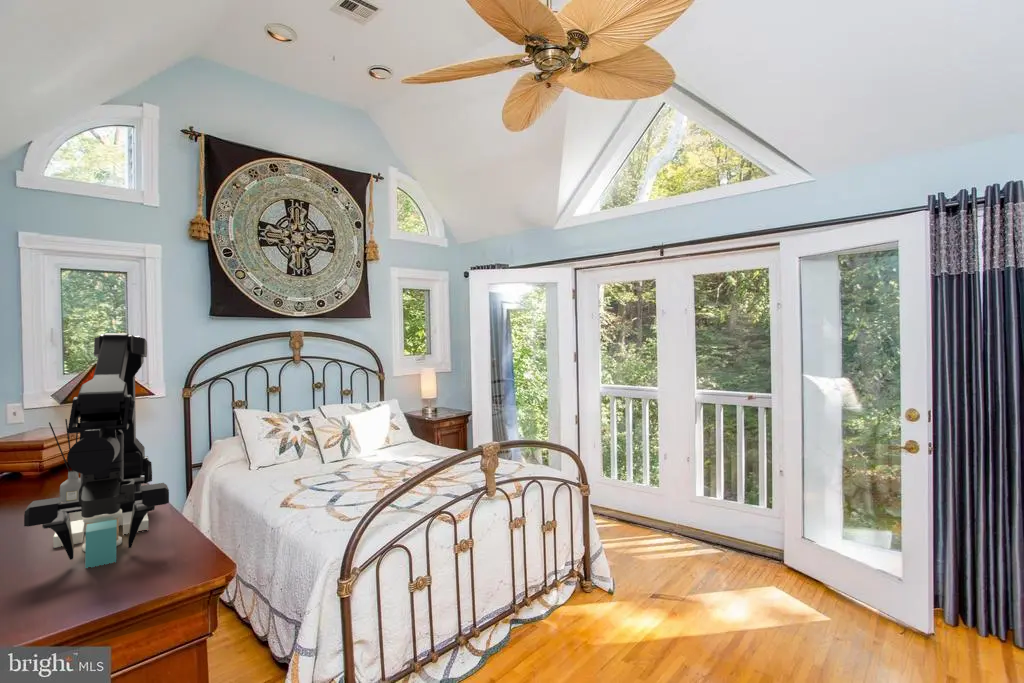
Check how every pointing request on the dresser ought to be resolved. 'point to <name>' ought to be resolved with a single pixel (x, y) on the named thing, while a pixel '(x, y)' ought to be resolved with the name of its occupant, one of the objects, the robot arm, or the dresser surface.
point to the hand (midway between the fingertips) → (101, 552)
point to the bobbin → (101, 519)
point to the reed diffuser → (69, 477)
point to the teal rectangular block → (100, 543)
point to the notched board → (80, 528)
